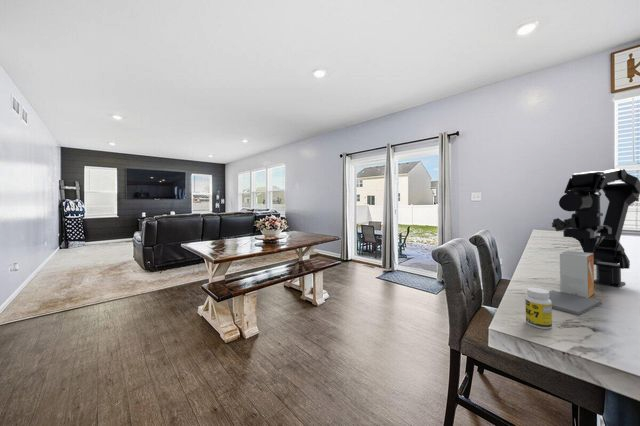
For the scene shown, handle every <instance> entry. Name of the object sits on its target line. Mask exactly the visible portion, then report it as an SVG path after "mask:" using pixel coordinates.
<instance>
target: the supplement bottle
mask: <svg viewBox="0 0 640 426" xmlns="http://www.w3.org/2000/svg"><path fill="white" fill-rule="evenodd" d="M549 291H550V290H546V289H544V288H540V287H539V288H538V287H528V288H527V289H526V296H525V322H526V324H528V325H529V326H531V327H534V328H537V329H542V330H549V329H551V328H552V327H553V315H552V314H553V313H552V312H553V308H552V302H551V300H550V299H549V297H550V296H549Z"/></svg>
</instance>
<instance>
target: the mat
mask: <svg viewBox="0 0 640 426" xmlns="http://www.w3.org/2000/svg"><path fill="white" fill-rule="evenodd" d="M548 291H549V296H550V297H549V299H550V300H551V302H552V309H554V310H558V311H562V312H566V313H569V314H574V315H577V316H581V315H582V314H584V313H586V312H589V311H590V310H592V309H594V308H596V307H598V306H599V305H602V302H603V301H602V300H599V299H595V298H591V297H590V298H587V297H582V296H577V295H573V294H568V293H563V292H560V291H559V290H558V291H557V290H554V289H553V290H548Z"/></svg>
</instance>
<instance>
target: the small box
mask: <svg viewBox="0 0 640 426" xmlns="http://www.w3.org/2000/svg"><path fill="white" fill-rule="evenodd" d="M594 266H595V265H594V253H586V252H584V251H573V250H566V251H564V252H561V253H559V275H560V277H559V278H560V280H559V281H560V282H559V283H560V284H559V286H560V289H559V290H560V291H559V292H563V293H568V294H573V295H577V296H582V297H587V298H591V297H592V296H593V295H594V294H595V283H594V280H595V277H594V276H595V272H594V271H595V268H594Z"/></svg>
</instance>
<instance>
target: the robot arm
mask: <svg viewBox="0 0 640 426" xmlns="http://www.w3.org/2000/svg"><path fill="white" fill-rule="evenodd" d="M617 181H618V182H617ZM601 190H602V191H603V193H604V196H605V197H606V199H607V200H608V206H607V209H606V212H605V214H604V213H603V212H601V196H602V193H601V192H600V191H601ZM639 198H640V179H639V178H638V177H636V176H635V175H632V174H630V173H627V170H626V169H625V168H615V169H614V168H612V169H607V170H606V169H605V170H603V171H602V170H601V171H600V170H597V171H595V170H594V171H585V172H579V173H577V172H576V173H573V174H572V175H571V177H570V178H569V179H568V182H567V185H566V187H565V190H564V195H562V196H561V197H560V198H559V201H558V205H559V207H560V208H561V209H562V210H563V211H566V212H574V213H572V214H571V216H570V218H565V219H563V218H561V217H557V218H554V219H553V220H552V223H551V227H552V228H554V230H555V231H556V232H559V231H560V232H562V231H563V236H562V237H563V238H572V239H575V240H577V241H578V242H579V244H580V246H581V249H582V252H586V253H594V266H595V272H596V277H595V278H594V284H600V285H601V284H602V285H608V286H612V287H619V288H620V287H622V286H624V285H626V282H624V281H622V270H624V269H625V270H626V269H628V270H629V269H630V268H631V267H630V266H631V263H630V262H631V261H630V259H629V256H627V254H626V251H625V248H624V247H623V245H622V244H621V242H620V239H621V236H622V232H623V228H624V224H625V221H626V217H627V213H628V210H629V206H631V205H632V204H633V203H635V202H636V201H638V200H639ZM604 215H605V216H604ZM603 216H604V220H603V223H602V224H601V221H602V220H601V219H602V217H603Z"/></svg>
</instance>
